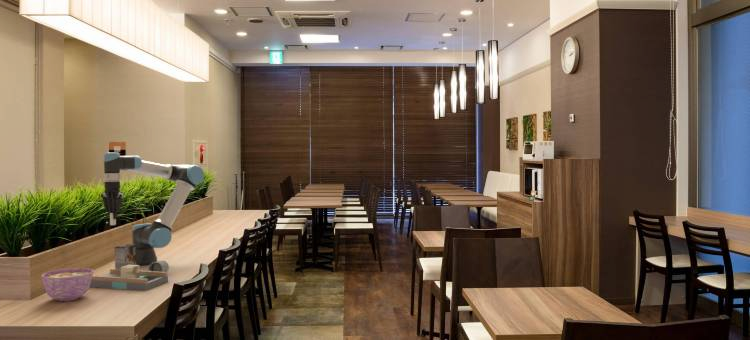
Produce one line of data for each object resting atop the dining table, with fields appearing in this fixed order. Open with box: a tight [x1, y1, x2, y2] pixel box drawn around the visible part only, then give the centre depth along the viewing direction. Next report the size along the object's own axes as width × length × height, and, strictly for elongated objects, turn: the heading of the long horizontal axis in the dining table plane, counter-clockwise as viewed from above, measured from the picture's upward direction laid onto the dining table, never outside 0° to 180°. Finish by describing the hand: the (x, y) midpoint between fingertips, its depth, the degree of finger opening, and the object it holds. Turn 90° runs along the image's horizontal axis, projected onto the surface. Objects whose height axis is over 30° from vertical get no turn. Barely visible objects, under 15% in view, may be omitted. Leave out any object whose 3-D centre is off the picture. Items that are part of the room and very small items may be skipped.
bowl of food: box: [41, 267, 94, 302], centre depth 233 cm, size 20×20×12 cm
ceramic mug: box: [148, 260, 170, 273], centre depth 280 cm, size 11×8×8 cm
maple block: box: [121, 265, 141, 278], centre depth 259 cm, size 6×6×6 cm
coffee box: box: [114, 243, 136, 269], centre depth 277 cm, size 9×6×16 cm
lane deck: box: [89, 268, 169, 291], centre depth 260 cm, size 18×32×5 cm, turn 77°
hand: (113, 224), depth 283 cm, fingers closed
